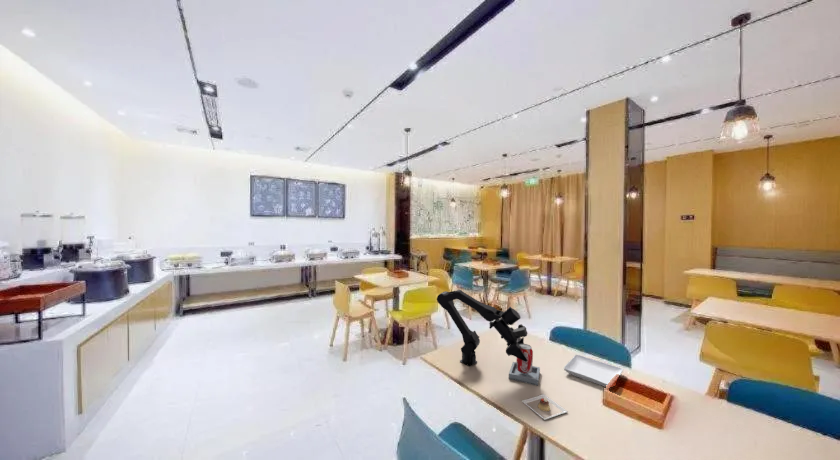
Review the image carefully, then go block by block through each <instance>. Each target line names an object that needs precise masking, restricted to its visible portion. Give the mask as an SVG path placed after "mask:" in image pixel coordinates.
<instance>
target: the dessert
mask: <svg viewBox="0 0 840 460" xmlns="http://www.w3.org/2000/svg"><path fill="white" fill-rule="evenodd" d="M538 400H539V402H538V405H537V408H538V409H539V410H540V411H543V412H549V411H550V410H551V406H550V404H551V405H552V406H554V407H555V408H556V409H558V410H559V411H561V412H558V413H556V414H553V415H550V416H547V417H544V416H542V415H541V414H540V413H539V412H537V411H536V410H535V409H534V408H532V406H530V405H528V403H531V402H535V401H538ZM521 403H523V404H525V406H527V408H529V409H531V411H533V412H534V413H535V414H537V415H538V416H539V417H540V418H541V419H542V420H549V419H552V418H554V417H557V416H560V415H562V414H563V415H564V414H565V413H568V412H569V411H568V410H567V409H565V408H564V407H563V406H561V405H559V404H558V403H557V402H556V401H554V400H553V399H552V398H549V397H548V396H547V395H546V394H544V393H543V394H540V395H537V396H532V397H529V398H527V399H523V400H521Z"/></svg>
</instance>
